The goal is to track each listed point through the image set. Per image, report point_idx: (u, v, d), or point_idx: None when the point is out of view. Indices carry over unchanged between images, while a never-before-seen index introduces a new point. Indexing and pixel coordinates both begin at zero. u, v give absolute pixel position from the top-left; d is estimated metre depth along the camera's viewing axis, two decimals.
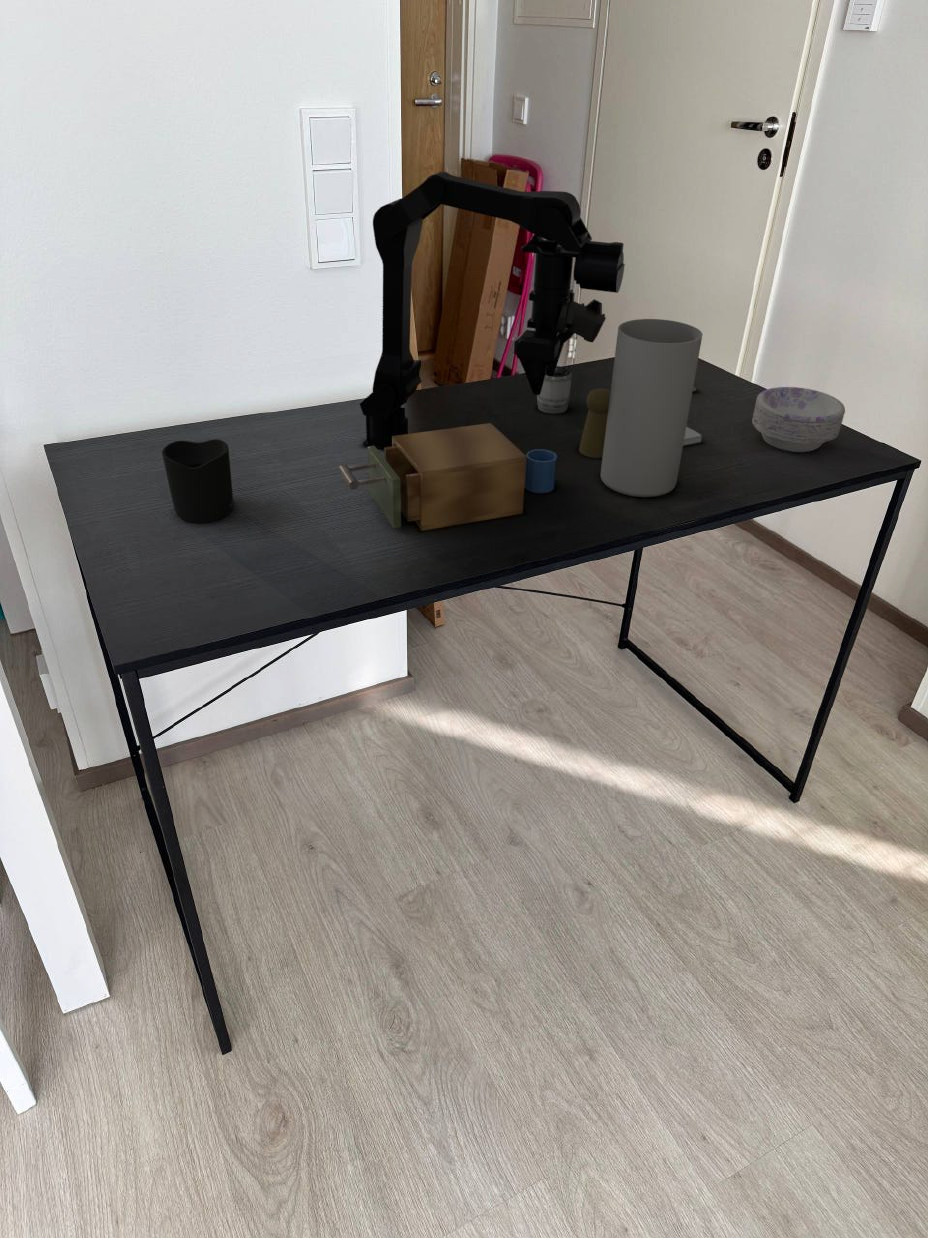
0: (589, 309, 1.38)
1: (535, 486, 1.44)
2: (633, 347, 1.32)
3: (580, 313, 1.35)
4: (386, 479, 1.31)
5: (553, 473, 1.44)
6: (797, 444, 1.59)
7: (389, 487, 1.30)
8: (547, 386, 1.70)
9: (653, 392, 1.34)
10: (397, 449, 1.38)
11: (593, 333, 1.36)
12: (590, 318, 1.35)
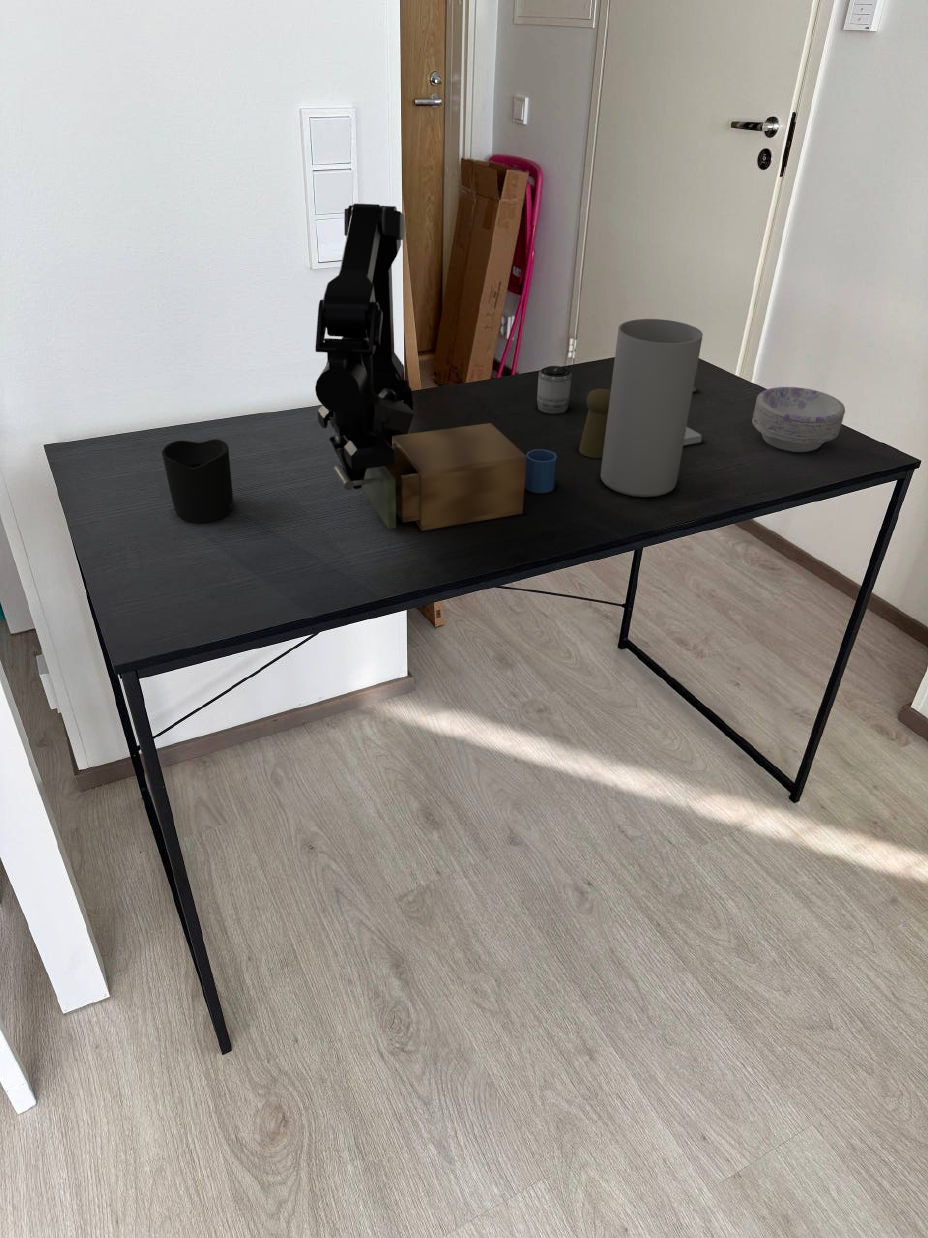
0: (389, 400, 1.30)
1: (535, 486, 1.44)
2: (634, 347, 1.32)
3: (392, 408, 1.26)
4: (381, 480, 1.31)
5: (553, 473, 1.44)
6: (797, 444, 1.59)
7: (384, 488, 1.30)
8: (547, 386, 1.70)
9: (654, 392, 1.34)
10: None
11: (409, 424, 1.28)
12: (403, 410, 1.27)
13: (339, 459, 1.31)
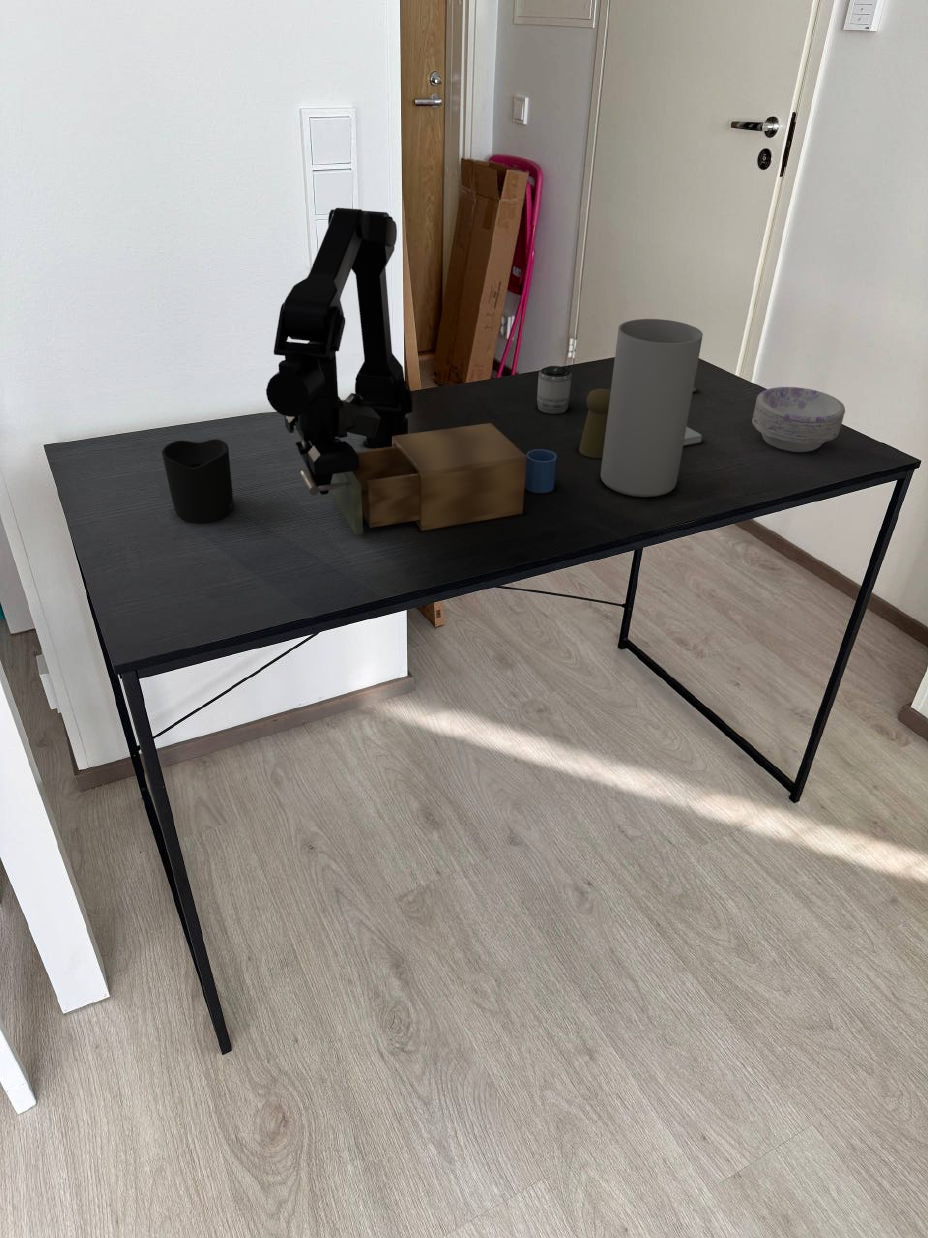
0: (355, 405, 1.28)
1: (535, 486, 1.44)
2: (634, 347, 1.32)
3: (358, 413, 1.25)
4: (347, 485, 1.29)
5: (553, 473, 1.44)
6: (797, 444, 1.59)
7: (350, 493, 1.28)
8: (547, 386, 1.70)
9: (654, 392, 1.34)
10: (360, 454, 1.36)
11: (375, 429, 1.27)
12: (368, 415, 1.26)
13: (305, 464, 1.30)
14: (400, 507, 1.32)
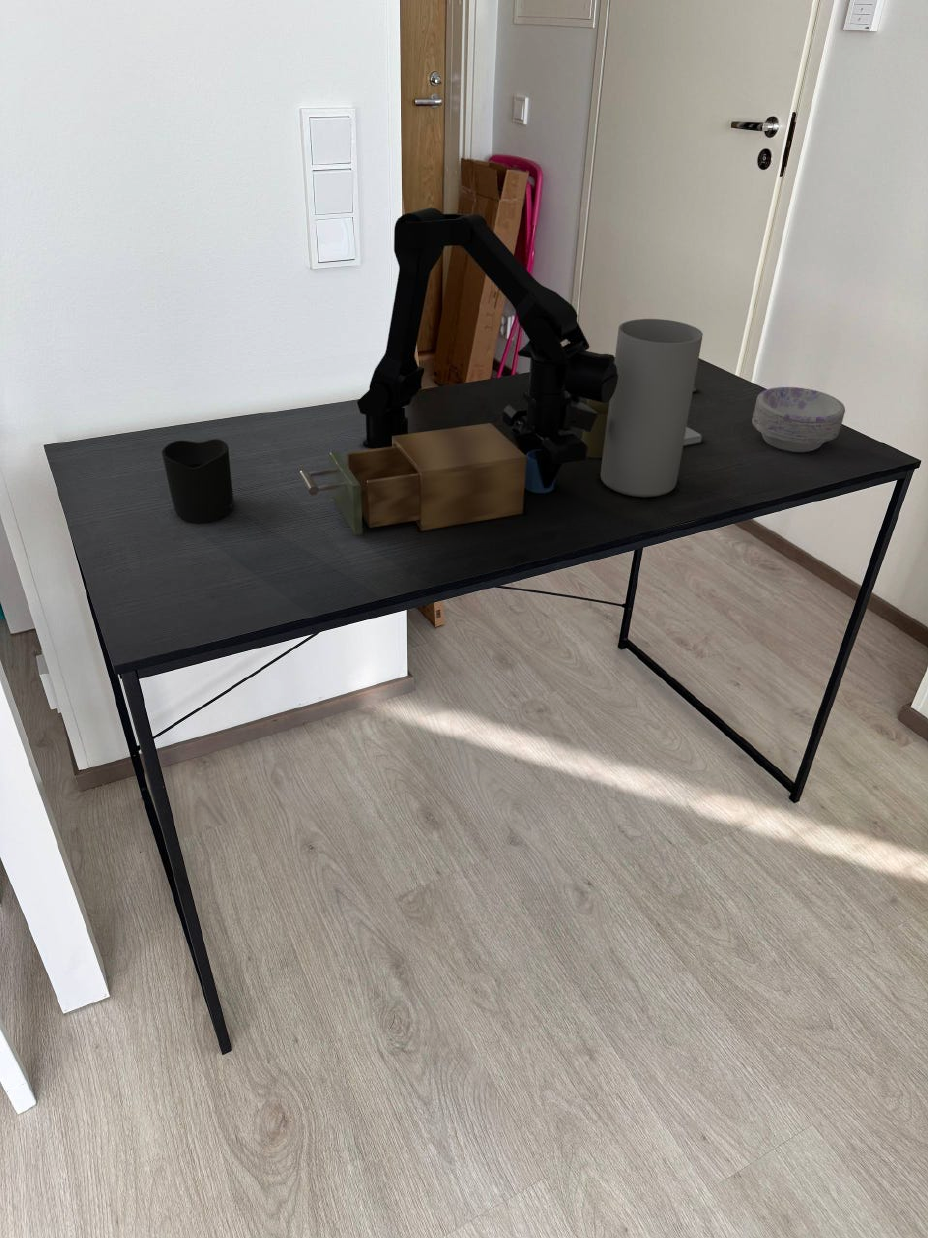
0: (573, 401, 1.43)
1: (535, 486, 1.44)
2: (634, 347, 1.32)
3: (580, 408, 1.40)
4: (346, 485, 1.29)
5: None
6: (797, 444, 1.59)
7: (350, 493, 1.28)
8: None
9: (654, 392, 1.34)
10: (360, 454, 1.36)
11: (593, 423, 1.41)
12: (588, 410, 1.40)
13: (519, 449, 1.46)
14: (400, 507, 1.32)
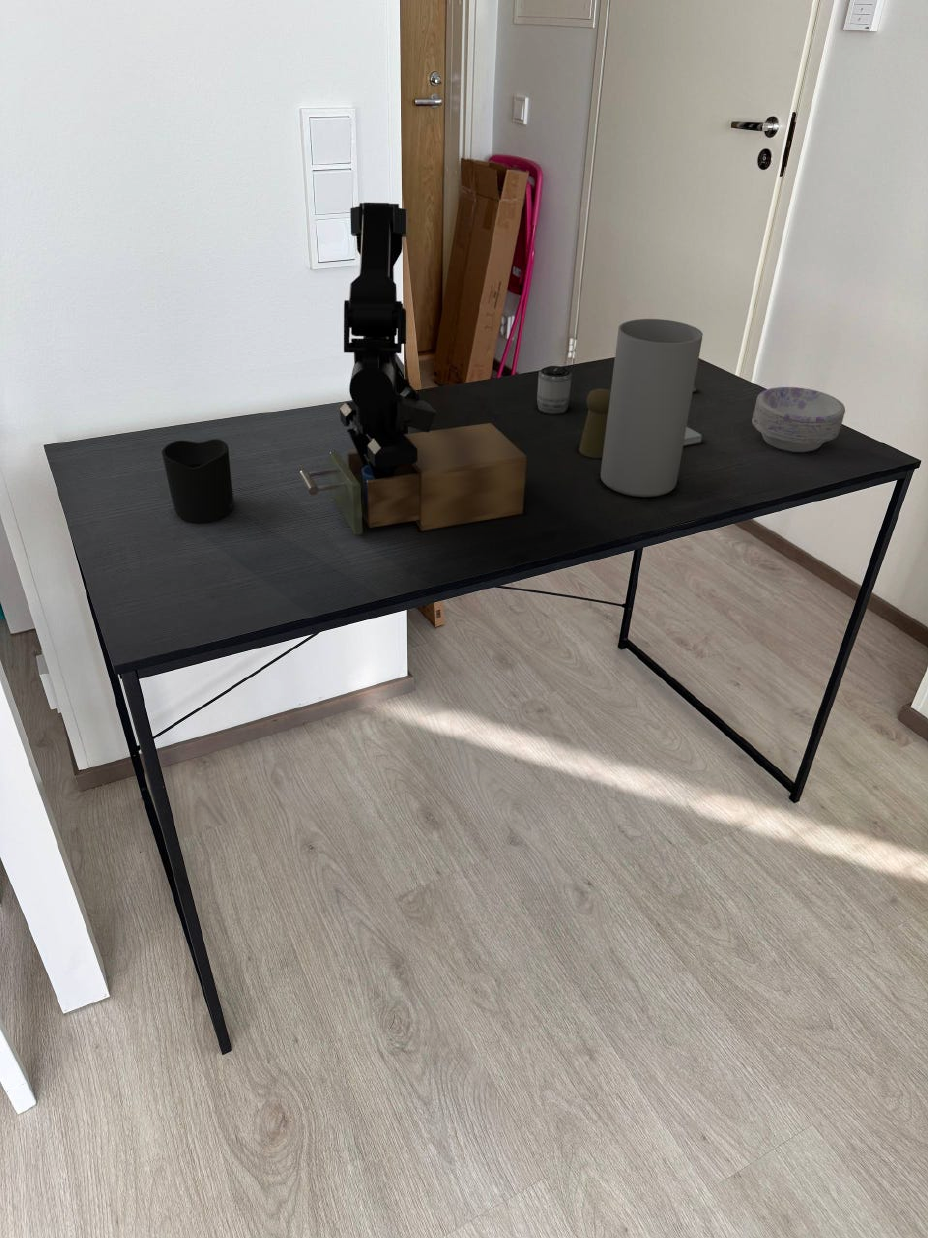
0: (411, 399, 1.31)
1: None
2: (634, 347, 1.32)
3: (414, 406, 1.28)
4: (346, 485, 1.29)
5: None
6: (797, 444, 1.59)
7: (350, 493, 1.28)
8: (547, 386, 1.70)
9: (654, 392, 1.34)
10: None
11: (431, 423, 1.30)
12: (425, 409, 1.29)
13: (356, 450, 1.34)
14: (400, 507, 1.32)
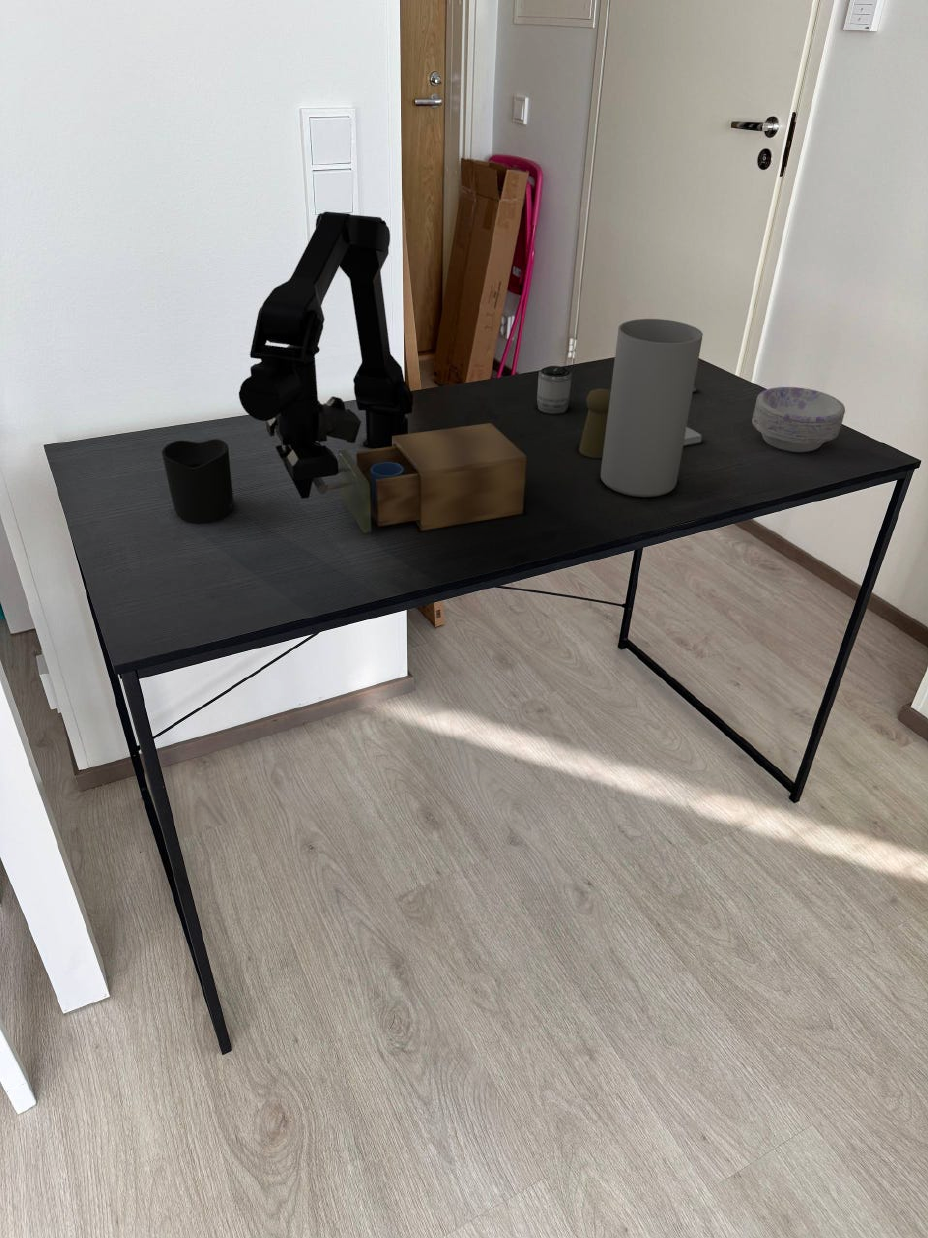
0: (336, 408, 1.27)
1: None
2: (634, 347, 1.32)
3: (338, 417, 1.24)
4: (355, 484, 1.29)
5: None
6: (797, 444, 1.59)
7: (359, 492, 1.28)
8: (547, 386, 1.70)
9: (654, 392, 1.34)
10: (368, 453, 1.36)
11: (355, 433, 1.26)
12: (349, 419, 1.25)
13: None
14: (409, 506, 1.32)
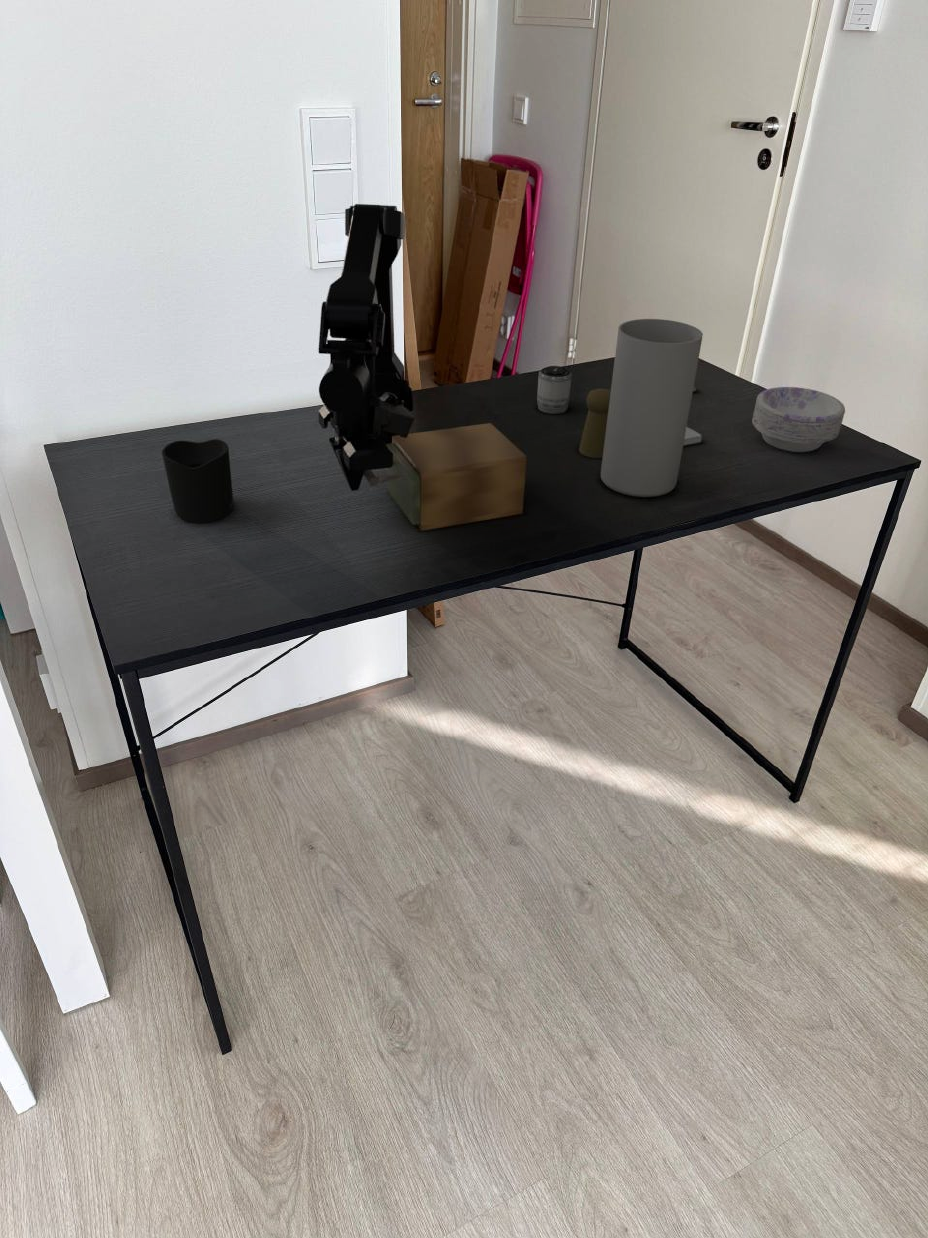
0: (390, 404, 1.30)
1: None
2: (634, 347, 1.32)
3: (393, 411, 1.27)
4: (405, 476, 1.32)
5: None
6: (797, 444, 1.59)
7: (409, 484, 1.31)
8: (547, 386, 1.70)
9: (654, 392, 1.34)
10: None
11: (409, 428, 1.29)
12: (403, 414, 1.28)
13: None
14: None
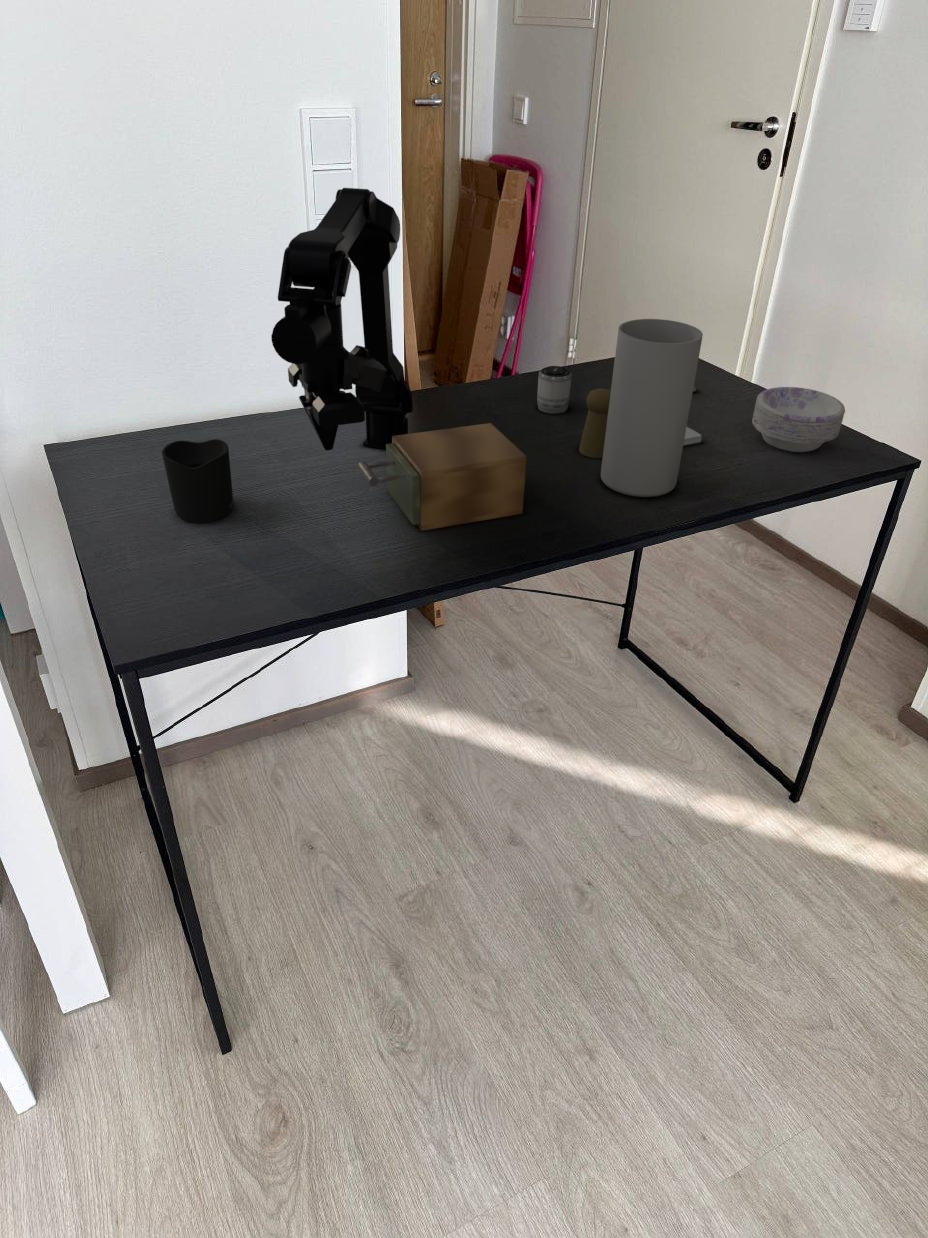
0: (361, 357, 1.25)
1: None
2: (634, 347, 1.32)
3: (363, 364, 1.21)
4: (405, 476, 1.32)
5: None
6: (797, 444, 1.59)
7: (409, 484, 1.31)
8: (547, 386, 1.70)
9: (654, 392, 1.34)
10: None
11: (381, 382, 1.23)
12: (374, 367, 1.22)
13: None
14: None
